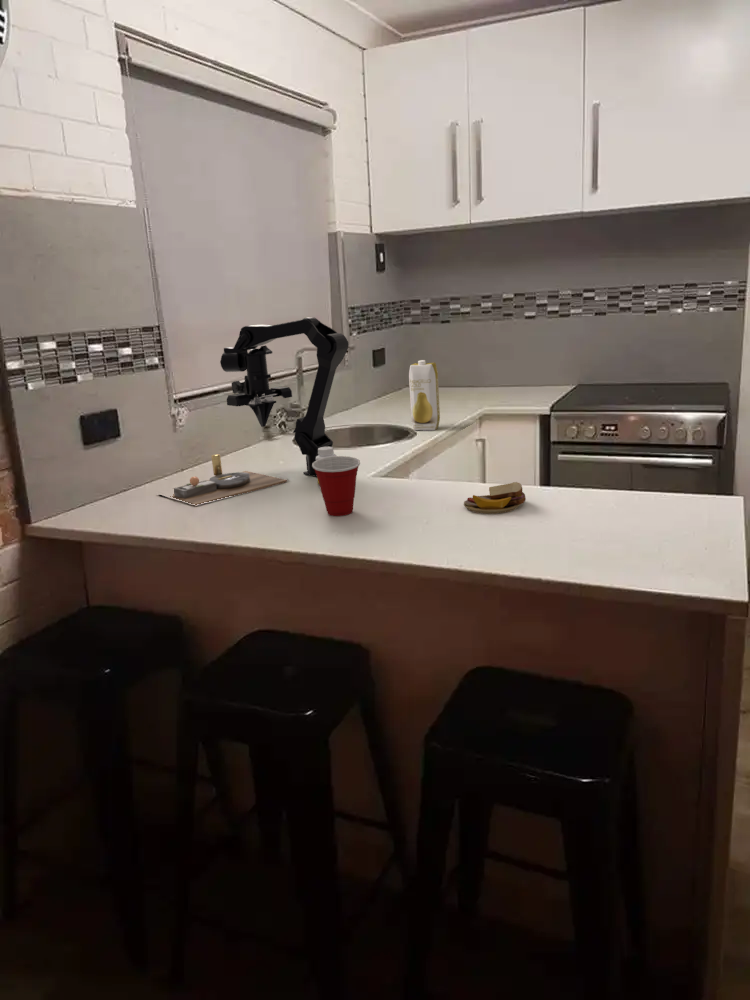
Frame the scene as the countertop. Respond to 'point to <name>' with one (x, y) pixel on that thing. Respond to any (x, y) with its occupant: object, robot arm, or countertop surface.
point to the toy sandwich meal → (497, 499)
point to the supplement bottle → (325, 454)
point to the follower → (196, 483)
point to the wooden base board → (211, 493)
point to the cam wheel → (227, 475)
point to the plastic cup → (337, 483)
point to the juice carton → (424, 395)
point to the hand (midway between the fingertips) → (263, 426)
